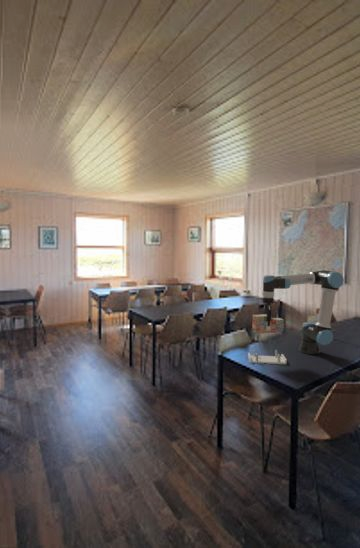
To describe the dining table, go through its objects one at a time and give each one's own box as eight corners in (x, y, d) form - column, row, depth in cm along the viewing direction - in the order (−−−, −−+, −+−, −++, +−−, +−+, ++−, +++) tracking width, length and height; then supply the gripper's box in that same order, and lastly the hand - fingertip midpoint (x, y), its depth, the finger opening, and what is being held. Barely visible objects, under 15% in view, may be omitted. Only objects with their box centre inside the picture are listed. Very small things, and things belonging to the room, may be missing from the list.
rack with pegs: (282, 358, 237) (282, 349, 236) (286, 364, 224) (286, 355, 223) (247, 356, 239) (248, 348, 239) (250, 362, 226) (250, 354, 226)
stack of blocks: (279, 330, 235) (279, 313, 234) (283, 332, 229) (284, 315, 228) (251, 331, 231) (252, 314, 230) (255, 333, 225) (256, 316, 224)
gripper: (260, 295, 239) (259, 325, 240) (265, 299, 218) (264, 332, 220) (271, 295, 238) (270, 325, 240) (276, 299, 218) (275, 332, 219)
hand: (267, 328), depth 230 cm, fingers closed on stack of blocks, 7 cm apart
